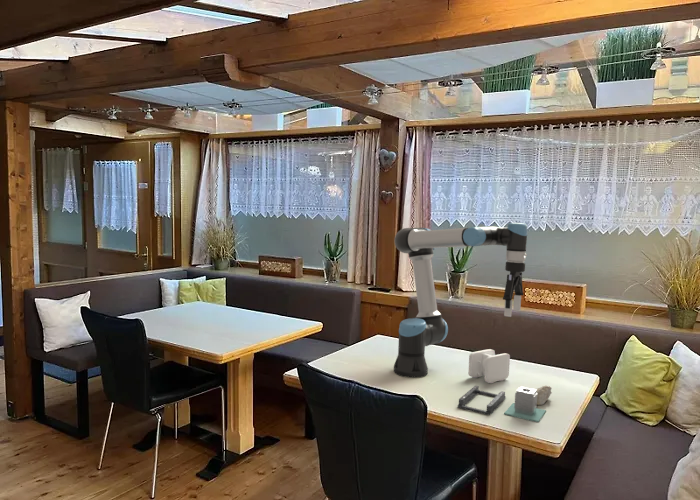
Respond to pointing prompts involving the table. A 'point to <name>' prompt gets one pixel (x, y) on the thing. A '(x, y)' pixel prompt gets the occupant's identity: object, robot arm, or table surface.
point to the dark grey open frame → (475, 390)
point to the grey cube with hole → (525, 401)
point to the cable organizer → (489, 365)
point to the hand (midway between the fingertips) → (512, 313)
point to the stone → (543, 394)
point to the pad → (535, 417)
